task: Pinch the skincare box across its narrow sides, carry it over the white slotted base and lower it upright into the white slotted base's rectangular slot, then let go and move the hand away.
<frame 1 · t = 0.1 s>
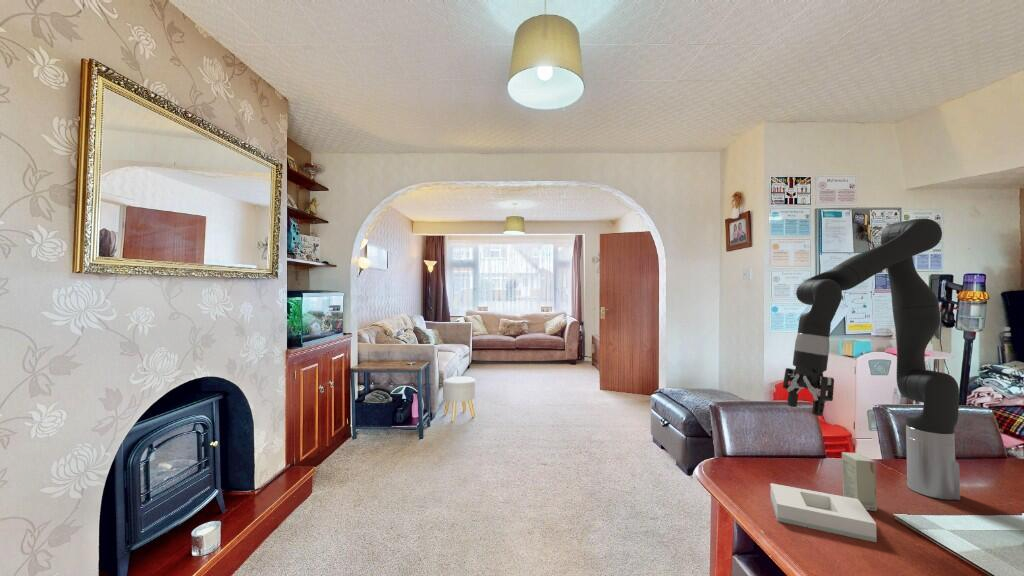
hand: (803, 410, 108), 22 cm above the table, tool pointing down, fingers open, 8 cm apart
skincare box: (859, 505, 102), on the table
white slotted base: (818, 518, 95), on the table
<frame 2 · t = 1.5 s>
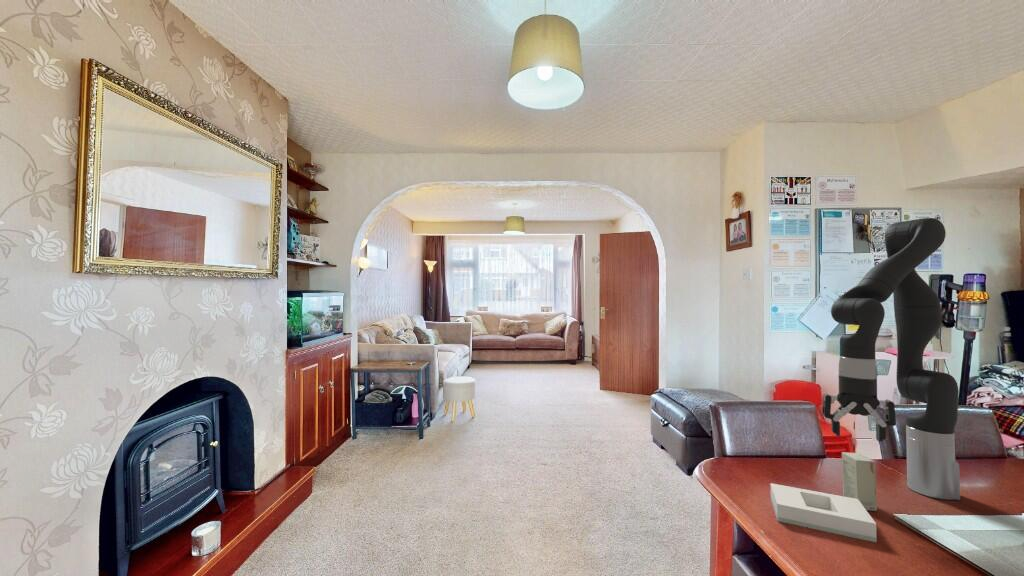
hand: (857, 438, 102), 17 cm above the table, tool pointing down, fingers open, 8 cm apart
nothing on the table moved.
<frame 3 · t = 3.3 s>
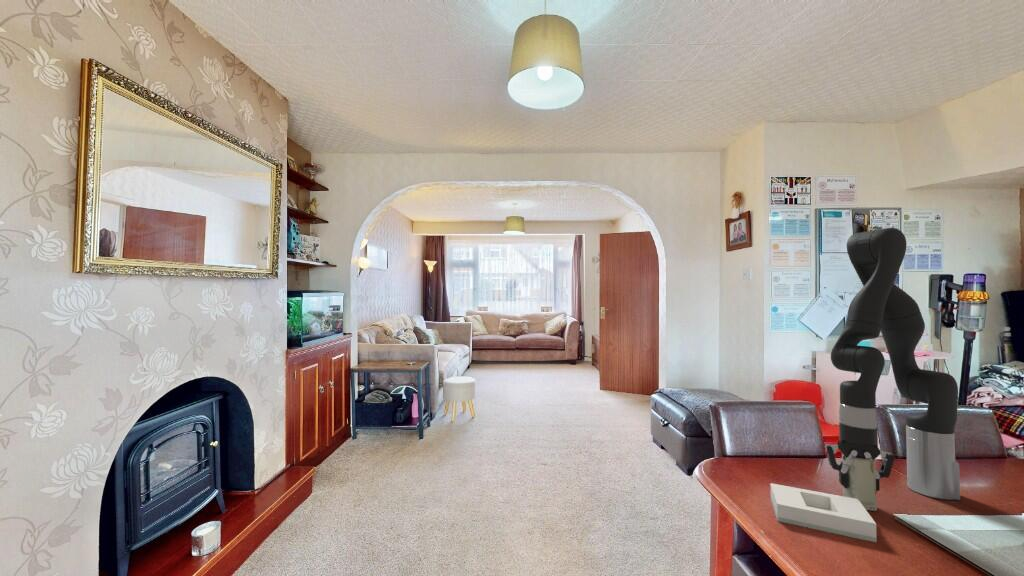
hand: (858, 488, 102), 4 cm above the table, tool pointing down, fingers closed on skincare box, 5 cm apart
skincare box: (859, 505, 102), on the table, touching gripper
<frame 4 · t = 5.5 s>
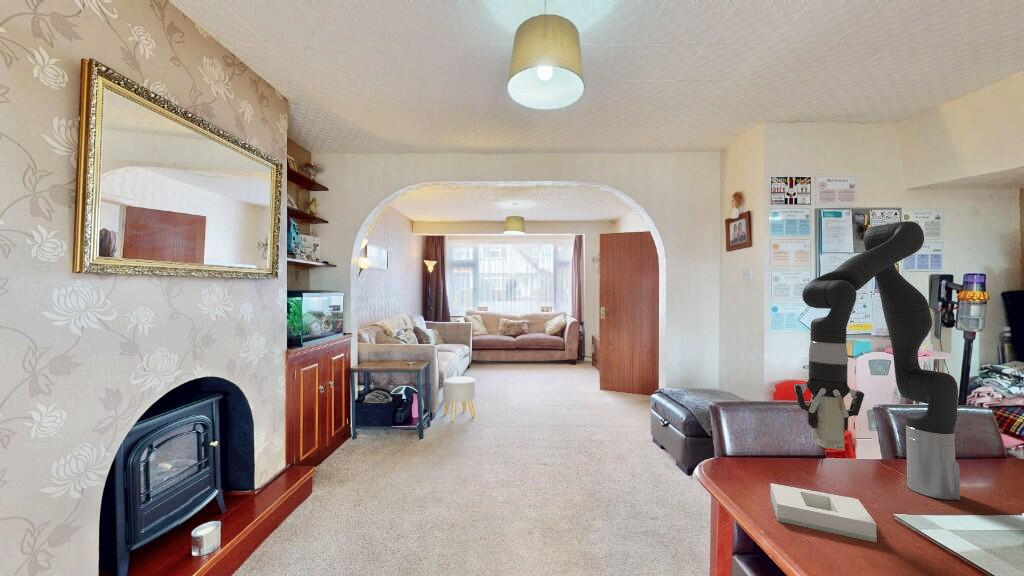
hand: (827, 429, 98), 21 cm above the table, tool pointing down, fingers closed on skincare box, 5 cm apart
skincare box: (827, 446, 98), point 16 cm above the table, touching gripper
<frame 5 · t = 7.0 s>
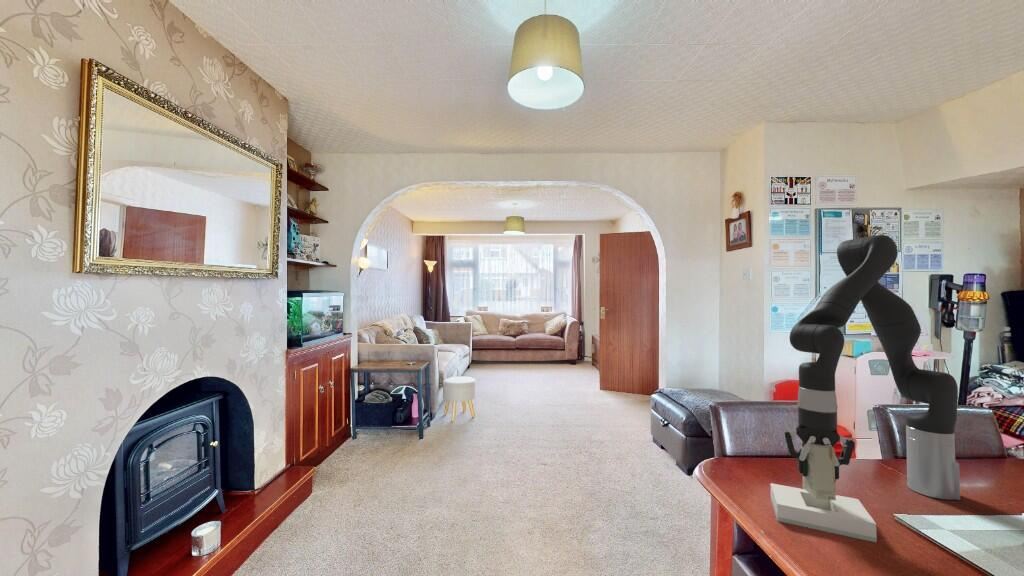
hand: (817, 477, 95), 10 cm above the table, tool pointing down, fingers closed on skincare box, 5 cm apart
skincare box: (818, 494, 95), point 6 cm above the table, touching gripper
when the fingers open (6 cm above the table, at t = 8.1 s): skincare box stays where it is, resting on white slotted base.
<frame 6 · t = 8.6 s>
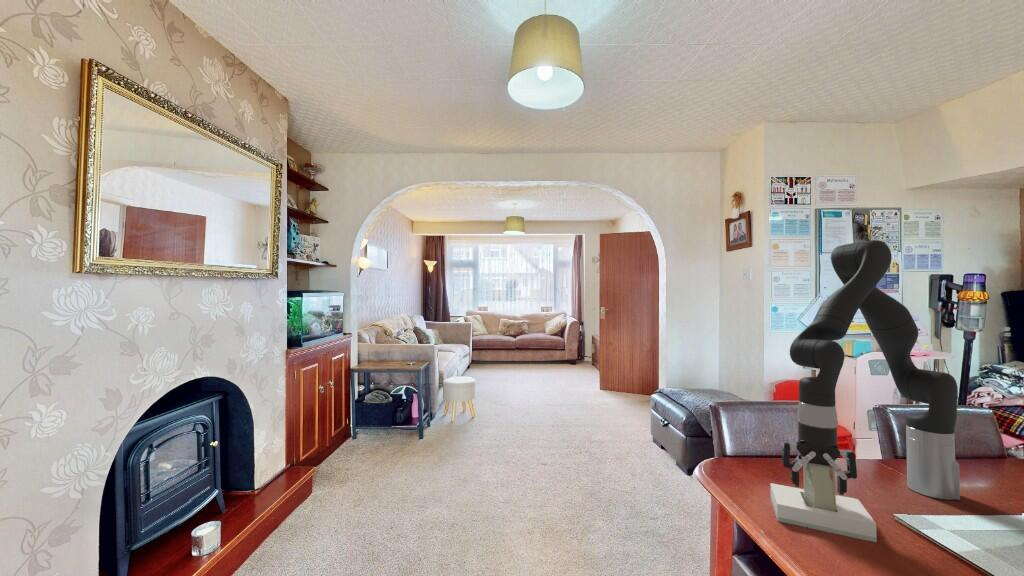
hand: (818, 489, 95), 7 cm above the table, tool pointing down, fingers open, 8 cm apart
skincare box: (819, 514, 95), point 1 cm above the table, touching white slotted base
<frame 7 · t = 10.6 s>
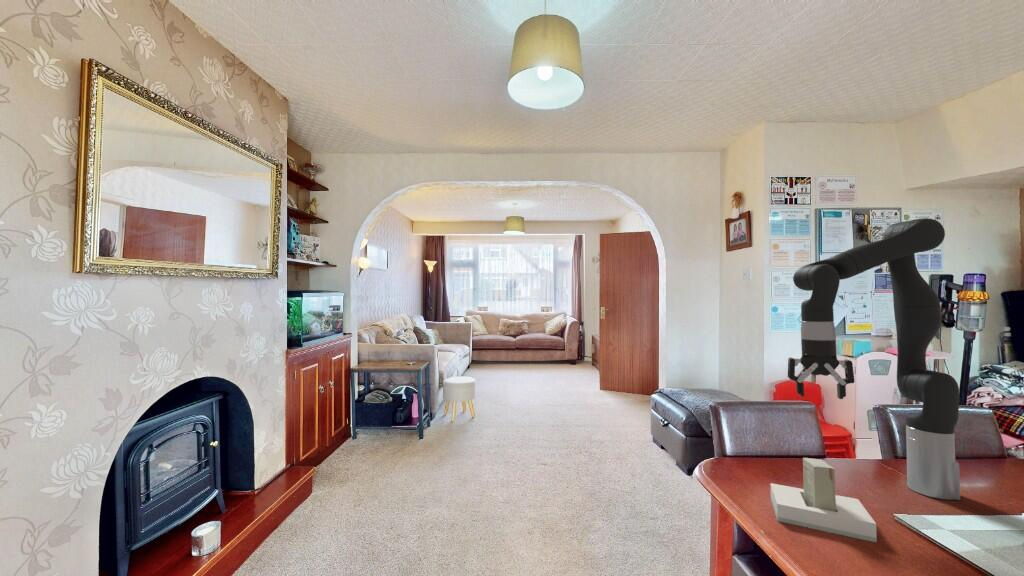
hand: (820, 397, 108), 26 cm above the table, tool pointing down, fingers open, 8 cm apart
nothing on the table moved.
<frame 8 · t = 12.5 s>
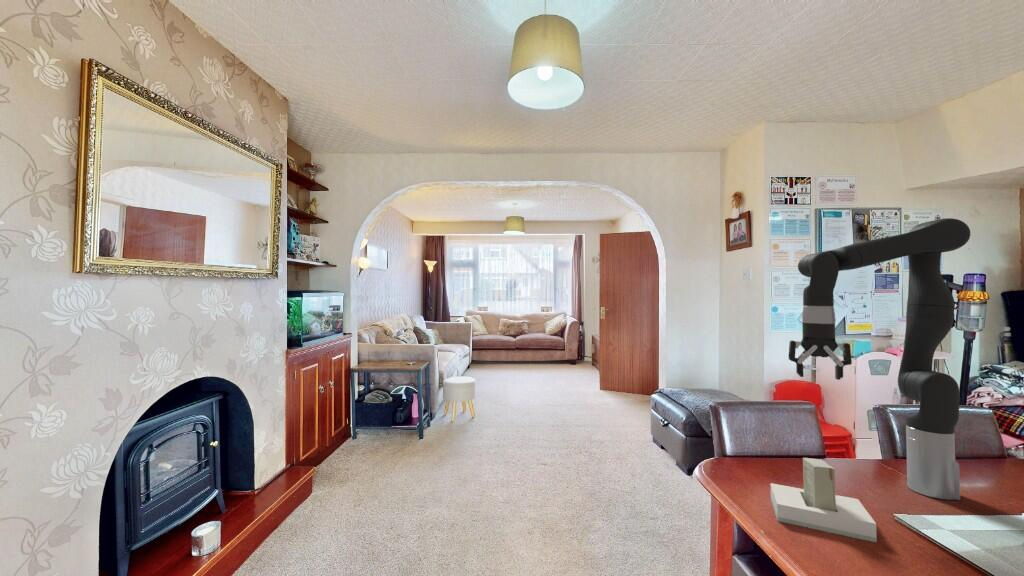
hand: (819, 377, 114), 30 cm above the table, tool pointing down, fingers open, 8 cm apart
nothing on the table moved.
at the end: skincare box 0.2 cm off-centre on the white slotted base, point 0.8 cm above the white slotted base's base; skincare box tilted 0°; the gripper is holding nothing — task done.
